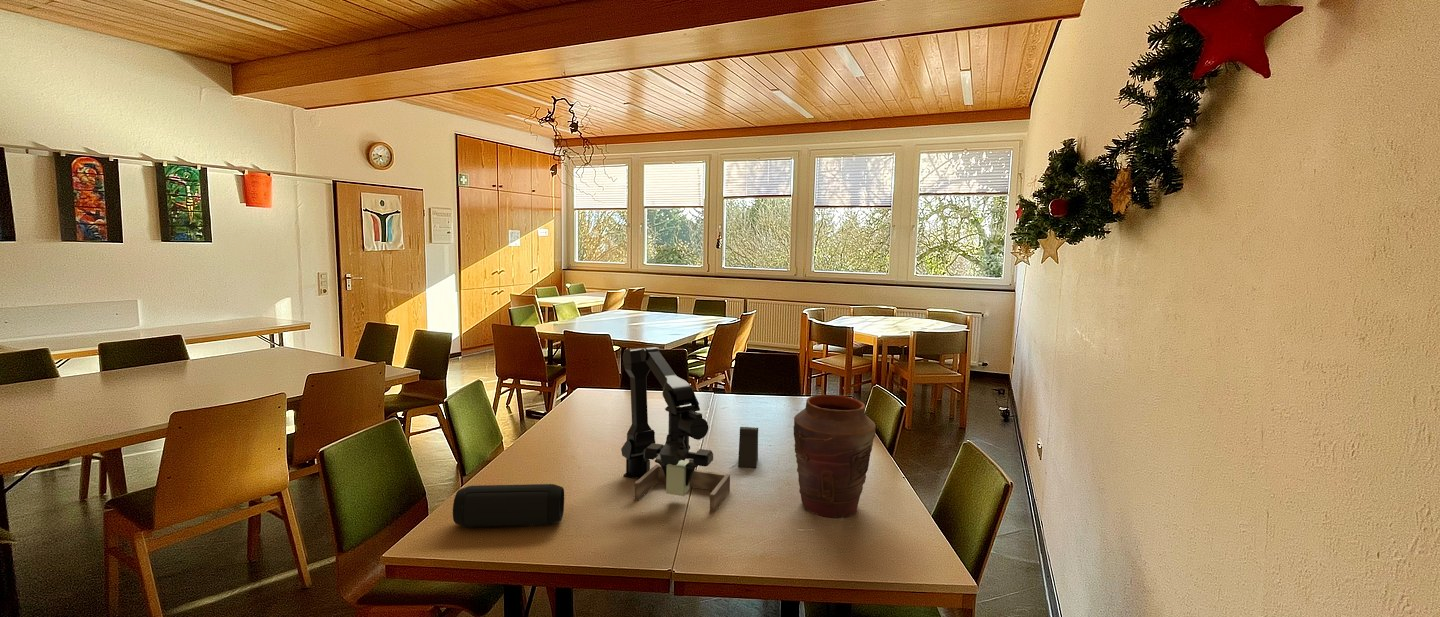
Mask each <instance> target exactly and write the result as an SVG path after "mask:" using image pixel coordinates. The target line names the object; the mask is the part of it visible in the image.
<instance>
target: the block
mask: <svg viewBox="0 0 1440 617" xmlns="http://www.w3.org/2000/svg"><path fill="white" fill-rule="evenodd" d="M688 462H689V460H681V461H679V463H678V464H677V465H671V464H668V465H667V476H666V483H665V484H666V486H665V487H666V488H665V489H666V490H665V492H666V494H667V495H673V496H681V497H684V496H685V495H686V494H687V493H688V491H689V490H690V487H689V486H690V482H689V485H688V486H686V472H687V468H686V464H687V463H688Z"/></svg>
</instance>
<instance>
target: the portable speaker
mask: <svg viewBox="0 0 1440 617" xmlns="http://www.w3.org/2000/svg"><path fill="white" fill-rule="evenodd" d="M564 511H565V490H564V486H563V487H562V486H560V485H557V484H553V483H540V484H539V483H537V484H536V483H535V484H530V483H529V484H494V485H493V484H492V485H491V484H490V485H489V484H487V485H486V484H483V485H468V486H466V487H462V488H459V489H458V490H457V492H455V495H454V500H453V505H452V519H453V522H454V524H456V525H459V526H461V527H465V528H488V527H489V528H490V527H522V526H527V527H528V526H550V525H551V526H552V525H553V524H556V523H559V522H560V521H562V520H563V516H564Z"/></svg>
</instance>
